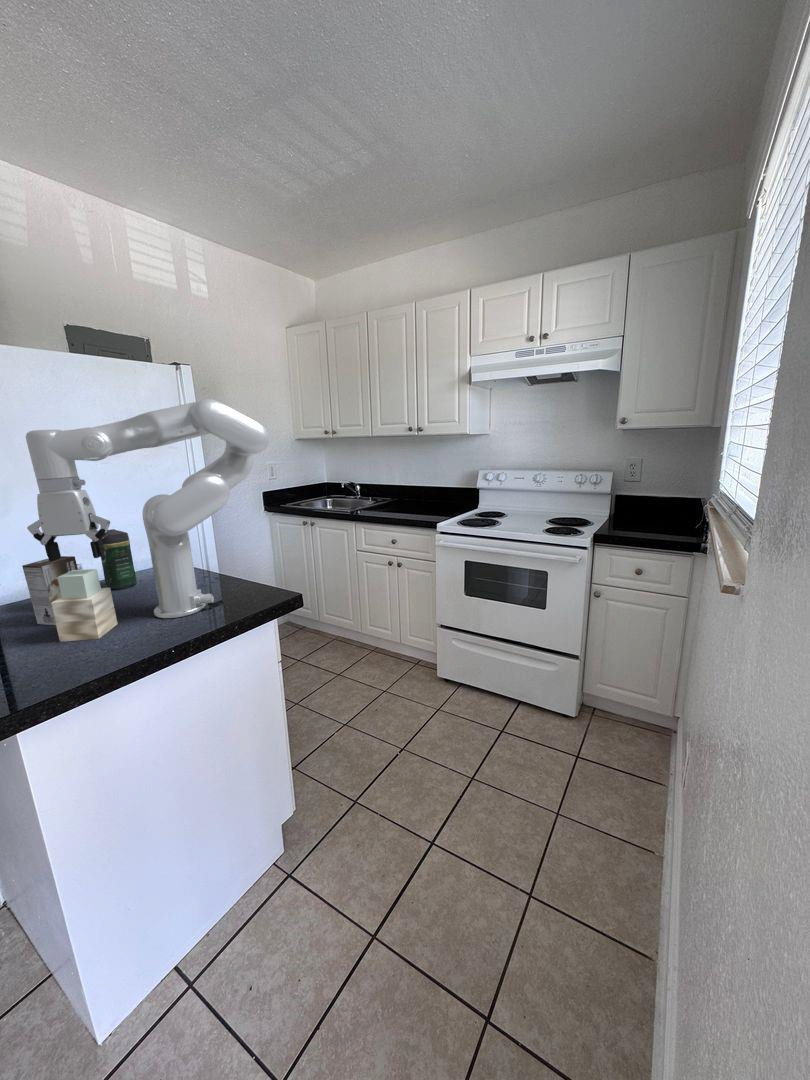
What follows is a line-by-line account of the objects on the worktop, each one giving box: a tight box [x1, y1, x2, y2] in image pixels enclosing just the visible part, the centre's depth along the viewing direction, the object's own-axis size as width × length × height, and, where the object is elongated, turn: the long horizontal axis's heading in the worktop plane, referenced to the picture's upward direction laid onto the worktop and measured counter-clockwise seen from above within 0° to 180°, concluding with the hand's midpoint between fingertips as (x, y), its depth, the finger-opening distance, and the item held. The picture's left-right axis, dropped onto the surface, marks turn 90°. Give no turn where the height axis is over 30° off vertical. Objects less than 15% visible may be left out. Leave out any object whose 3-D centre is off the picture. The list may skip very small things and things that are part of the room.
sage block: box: [57, 568, 102, 600], centre depth 102 cm, size 6×6×6 cm
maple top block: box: [51, 587, 115, 623], centre depth 103 cm, size 8×8×5 cm
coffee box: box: [21, 555, 78, 626], centre depth 113 cm, size 9×6×16 cm
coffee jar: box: [100, 528, 138, 590], centre depth 138 cm, size 10×8×19 cm
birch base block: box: [55, 605, 119, 643], centre depth 105 cm, size 8×8×5 cm
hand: (77, 558), depth 101 cm, fingers open, 9 cm apart
